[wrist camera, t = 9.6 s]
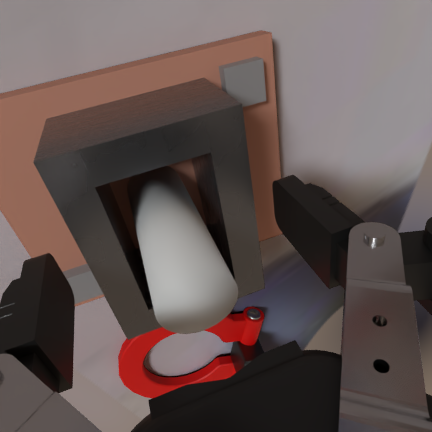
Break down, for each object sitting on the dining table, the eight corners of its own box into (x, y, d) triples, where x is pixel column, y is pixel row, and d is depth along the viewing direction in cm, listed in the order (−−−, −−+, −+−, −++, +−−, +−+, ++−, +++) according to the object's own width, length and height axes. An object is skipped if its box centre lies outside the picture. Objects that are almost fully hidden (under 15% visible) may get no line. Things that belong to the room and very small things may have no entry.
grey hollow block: (46, 118, 12) (33, 162, 9) (203, 77, 13) (242, 103, 10) (119, 274, 17) (127, 339, 14) (232, 235, 18) (264, 288, 15)
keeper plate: (-53, 106, 12) (-206, 233, 6) (260, 30, 14) (410, 61, 8) (66, 295, 18) (56, 464, 11) (276, 223, 20) (368, 332, 13)
